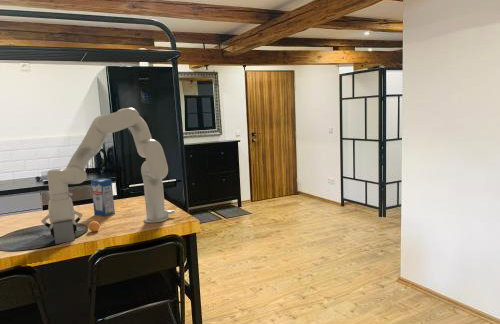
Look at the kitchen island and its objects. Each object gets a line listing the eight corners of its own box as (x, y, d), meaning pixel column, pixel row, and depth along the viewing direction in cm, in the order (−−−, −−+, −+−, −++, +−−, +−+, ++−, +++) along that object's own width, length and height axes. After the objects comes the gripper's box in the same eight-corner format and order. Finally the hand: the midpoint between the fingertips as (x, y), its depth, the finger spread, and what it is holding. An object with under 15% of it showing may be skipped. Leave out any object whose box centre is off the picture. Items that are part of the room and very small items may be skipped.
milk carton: (115, 214, 206) (111, 179, 203) (105, 217, 201) (101, 181, 198) (104, 212, 211) (100, 178, 209) (94, 215, 206) (90, 180, 204)
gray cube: (74, 235, 170) (71, 217, 169) (74, 240, 163) (72, 221, 162) (55, 239, 166) (53, 220, 165) (55, 244, 160) (52, 224, 158)
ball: (99, 229, 178) (98, 219, 178) (100, 231, 174) (99, 221, 173) (88, 231, 176) (87, 221, 175) (89, 233, 172) (88, 223, 171)
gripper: (80, 192, 169) (84, 228, 172) (37, 198, 161) (42, 236, 164) (81, 195, 163) (85, 233, 165) (36, 201, 155) (42, 241, 157)
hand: (64, 234), depth 164 cm, fingers closed on gray cube, 7 cm apart
